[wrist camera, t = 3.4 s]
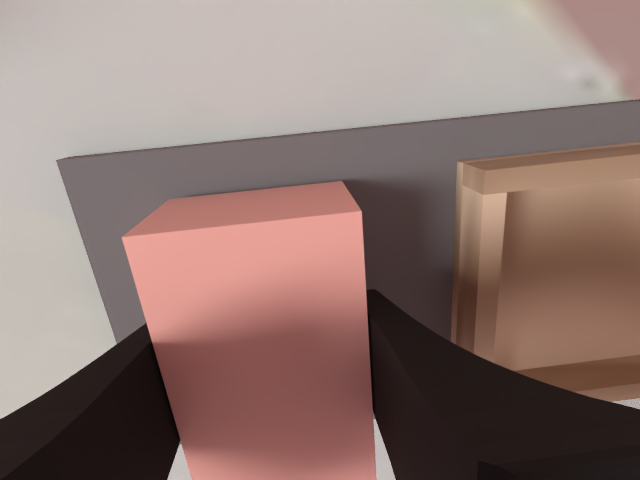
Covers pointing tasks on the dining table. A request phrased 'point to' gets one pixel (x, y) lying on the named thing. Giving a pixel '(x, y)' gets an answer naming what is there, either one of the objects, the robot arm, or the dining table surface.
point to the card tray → (552, 266)
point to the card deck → (261, 330)
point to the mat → (330, 166)
